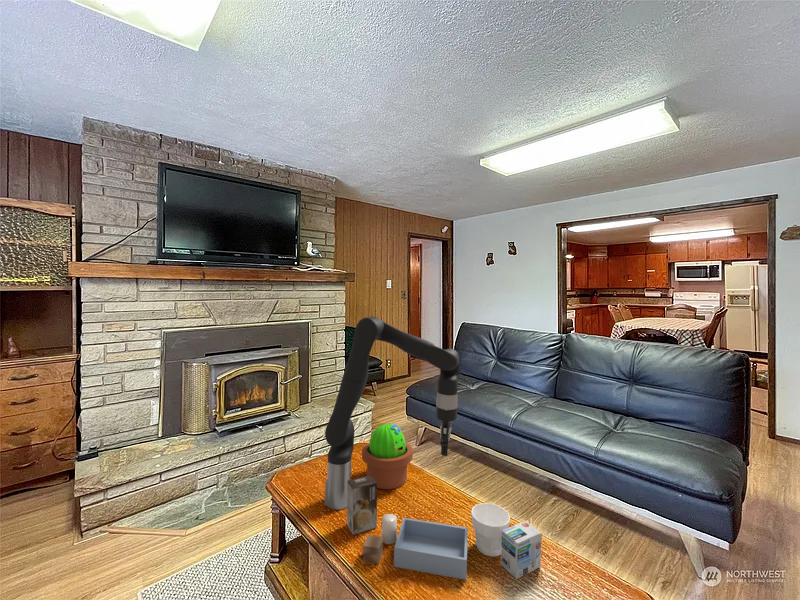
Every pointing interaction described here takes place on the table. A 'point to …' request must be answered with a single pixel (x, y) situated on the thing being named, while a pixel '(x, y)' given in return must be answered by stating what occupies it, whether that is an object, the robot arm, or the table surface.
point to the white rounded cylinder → (389, 528)
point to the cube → (373, 549)
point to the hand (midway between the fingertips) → (445, 450)
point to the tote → (432, 548)
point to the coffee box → (361, 504)
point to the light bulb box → (521, 549)
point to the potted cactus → (387, 456)
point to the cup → (489, 527)
